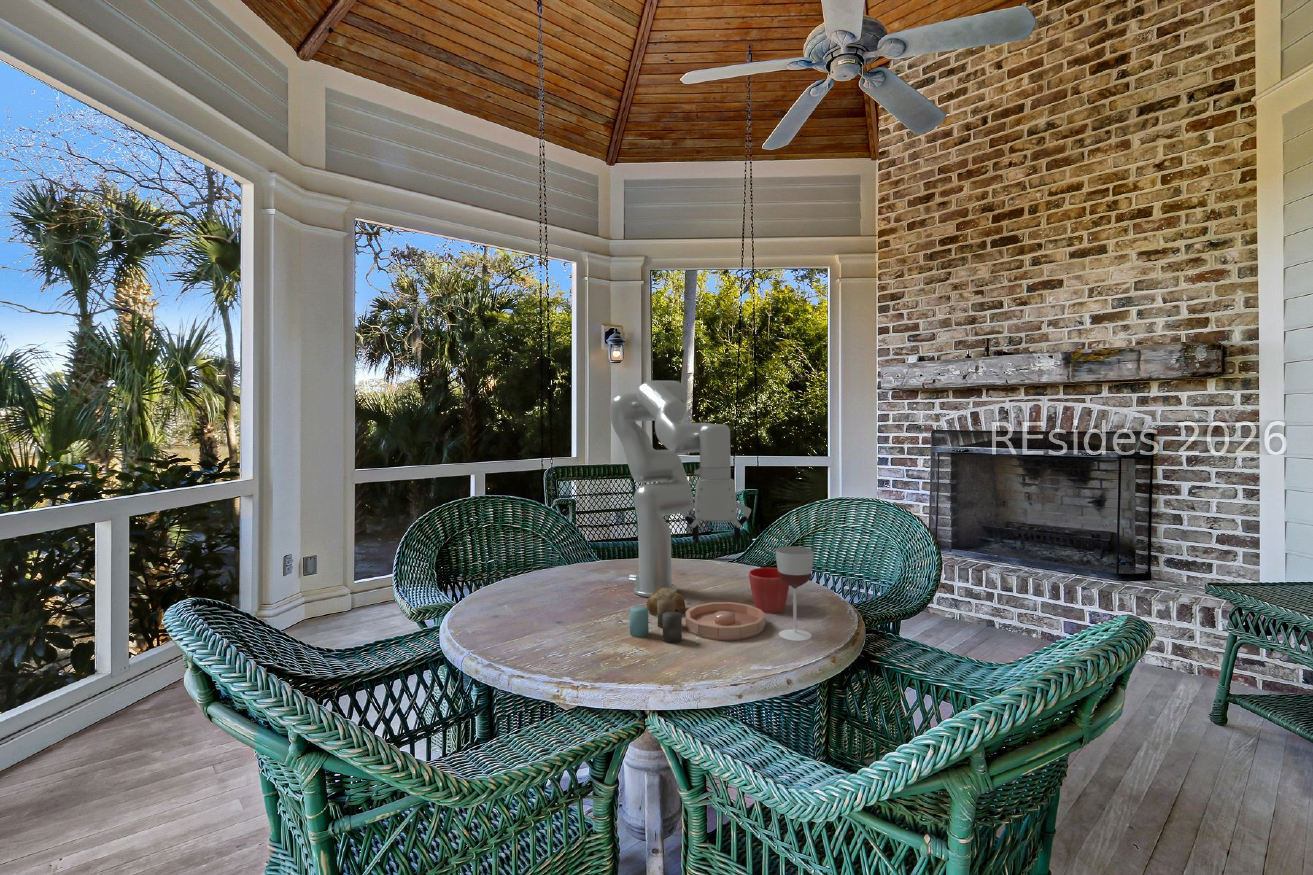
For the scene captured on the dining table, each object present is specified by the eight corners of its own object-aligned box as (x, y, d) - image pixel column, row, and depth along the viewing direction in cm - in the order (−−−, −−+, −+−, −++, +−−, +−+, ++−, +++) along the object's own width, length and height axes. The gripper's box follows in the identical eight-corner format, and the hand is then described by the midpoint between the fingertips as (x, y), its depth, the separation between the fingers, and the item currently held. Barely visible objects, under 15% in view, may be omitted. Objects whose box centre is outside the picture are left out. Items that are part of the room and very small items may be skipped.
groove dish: (672, 632, 155) (672, 619, 155) (706, 609, 172) (706, 598, 172) (746, 645, 146) (746, 632, 146) (775, 620, 162) (775, 608, 162)
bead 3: (659, 641, 149) (659, 615, 149) (668, 635, 153) (668, 610, 153) (676, 644, 147) (675, 618, 147) (685, 638, 151) (684, 613, 151)
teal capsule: (626, 635, 154) (626, 610, 154) (636, 629, 158) (635, 605, 157) (642, 638, 152) (641, 613, 151) (651, 632, 156) (651, 607, 155)
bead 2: (654, 626, 159) (653, 602, 159) (663, 621, 163) (662, 598, 163) (670, 629, 157) (669, 605, 157) (678, 624, 161) (678, 600, 161)
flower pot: (791, 615, 166) (790, 578, 165) (747, 613, 168) (747, 576, 167) (791, 603, 176) (790, 568, 176) (750, 601, 178) (749, 566, 178)
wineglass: (807, 643, 146) (806, 555, 145) (771, 636, 151) (770, 551, 150) (818, 632, 153) (818, 548, 152) (783, 626, 158) (782, 545, 157)
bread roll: (654, 631, 167) (659, 607, 163) (638, 605, 175) (643, 581, 171) (687, 624, 171) (693, 601, 168) (670, 599, 179) (675, 576, 176)
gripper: (679, 476, 158) (680, 545, 159) (750, 475, 156) (751, 546, 157) (681, 472, 165) (683, 539, 166) (750, 472, 163) (751, 539, 164)
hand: (716, 542), depth 161 cm, fingers open, 9 cm apart
